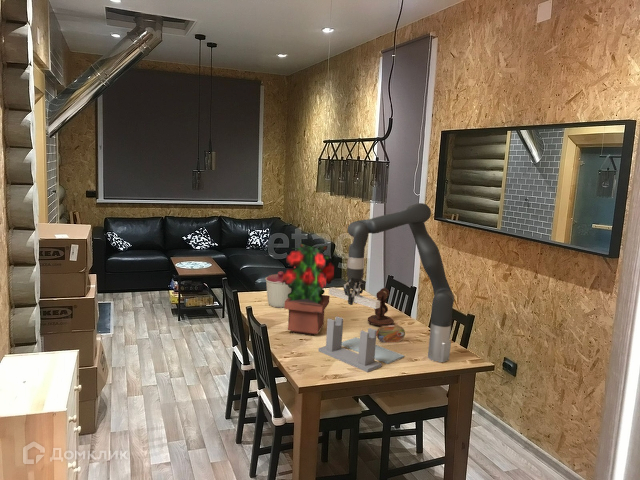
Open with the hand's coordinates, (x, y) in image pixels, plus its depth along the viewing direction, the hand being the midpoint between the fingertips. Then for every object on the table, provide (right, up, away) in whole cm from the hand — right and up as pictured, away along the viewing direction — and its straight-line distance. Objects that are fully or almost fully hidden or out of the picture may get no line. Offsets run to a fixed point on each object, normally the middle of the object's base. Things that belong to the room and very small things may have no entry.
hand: (353, 303), depth 235 cm
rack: (-2, -26, +5) cm, 26 cm away
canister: (-40, -11, +80) cm, 90 cm away
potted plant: (-22, -19, +38) cm, 48 cm away
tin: (+21, -23, +30) cm, 43 cm away
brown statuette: (+19, -19, +57) cm, 63 cm away
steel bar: (0, +1, 0) cm, 1 cm away
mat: (+10, -25, +16) cm, 31 cm away
